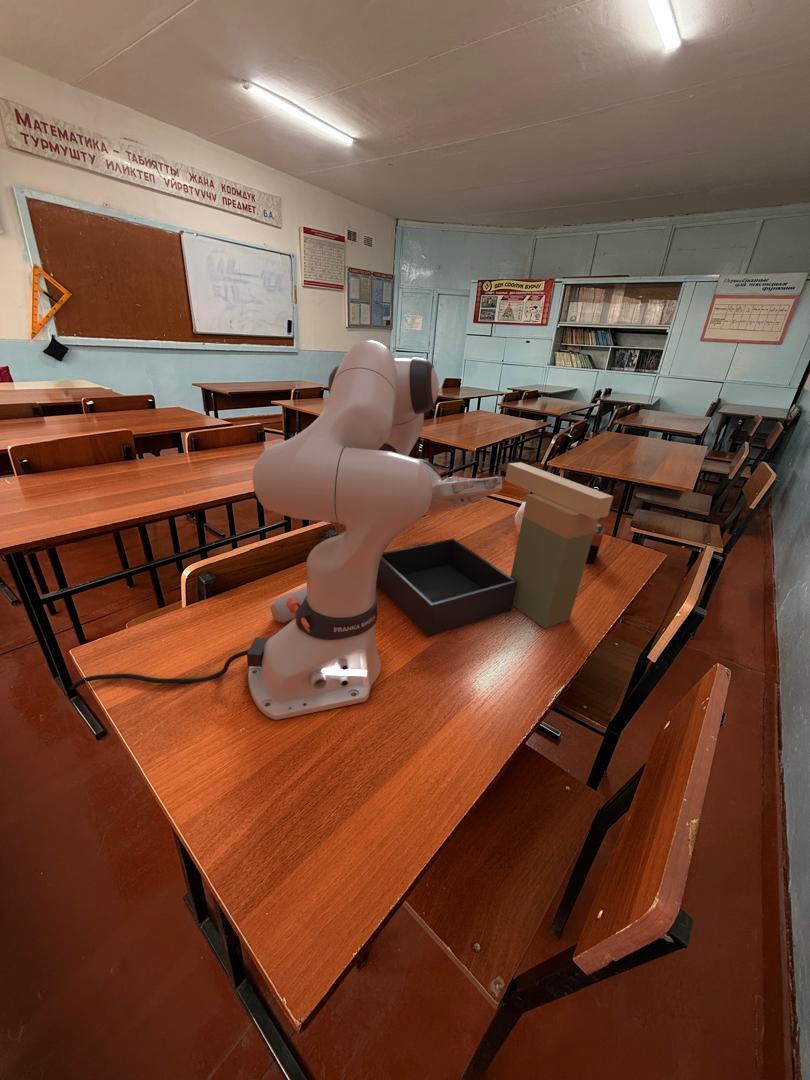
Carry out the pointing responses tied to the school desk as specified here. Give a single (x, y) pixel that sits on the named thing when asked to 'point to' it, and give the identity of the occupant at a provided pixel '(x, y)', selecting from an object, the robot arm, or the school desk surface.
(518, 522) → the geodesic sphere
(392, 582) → the bin
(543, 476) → the cream rectangular beam
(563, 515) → the stand
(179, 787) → the school desk surface
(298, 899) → the school desk surface
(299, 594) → the tube
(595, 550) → the battery
